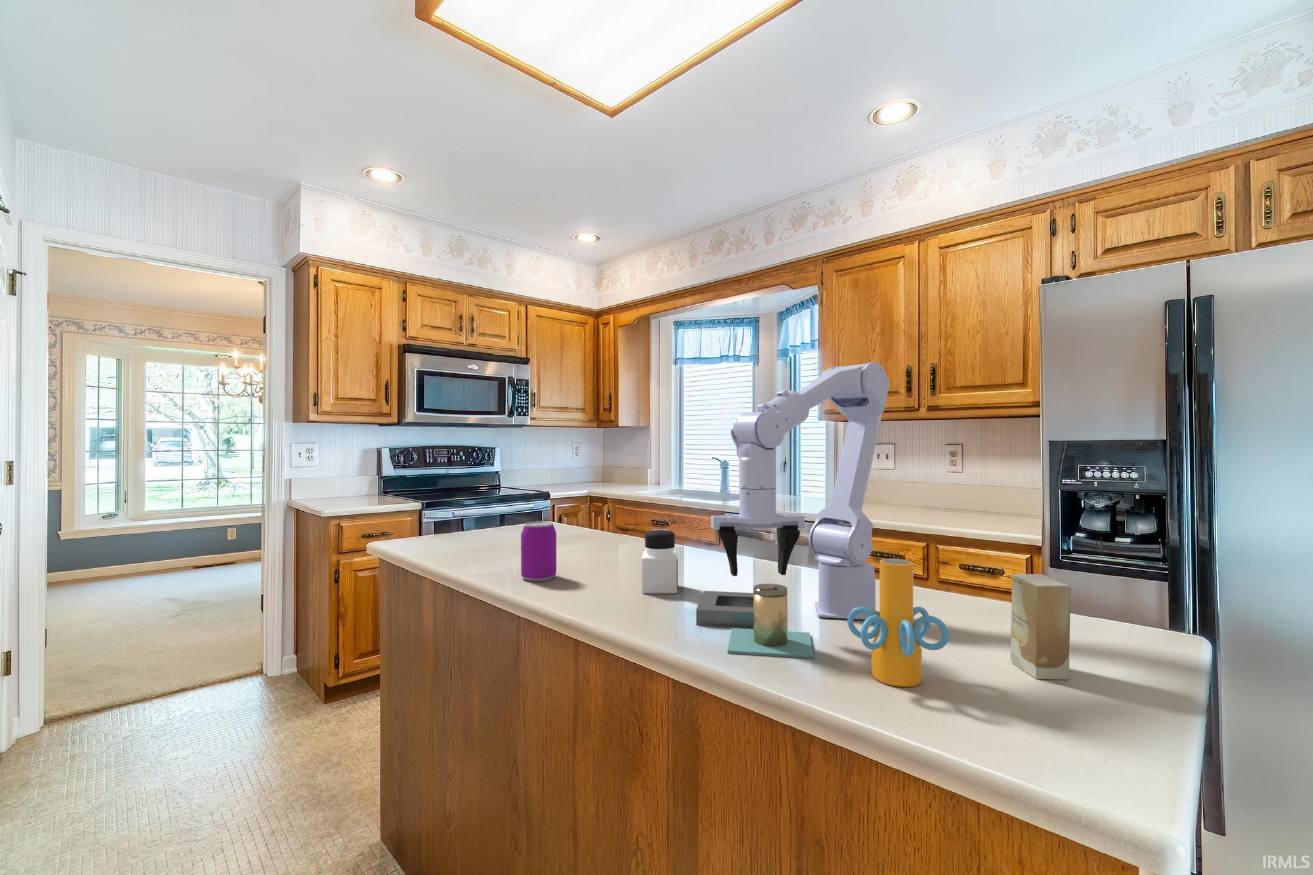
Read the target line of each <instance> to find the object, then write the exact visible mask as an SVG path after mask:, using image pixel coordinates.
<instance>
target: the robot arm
mask: <svg viewBox="0 0 1313 875" xmlns="http://www.w3.org/2000/svg"><path fill="white" fill-rule="evenodd" d="M890 384H891V382H890V381H889V378H888V376H887V373H886V370H885V369H884V366H882V364H880V363H879V362H877V361H870V362H867V363H862V364H853V365H852V364H851V365H847V366H846V365H845V366H831V367H830V368H828V369H825V370H822V372H821V375H819V376H818V377H817V378H815V379H814V380H813V381H811V382H810V383H809V384H807V385H806V386H804V387H803V388H802V389H800V390H799V391H796V390H788V389H782V390H779V391H778V392H776V397H775V398H773V399H771V400H769V401H768V402H763V403H760V404H757V409H756V410H754V412H753V411H752V412H750V411H749V412H743V413H741V414H740V415H739V416H738V417H737V418H736V419H735V421H734V423H733V425H732V426H733V427H732V429H730V436H731V439H732V441H733V443H734V445H735V448H736V455H737V458H738V462H739V463H738V469H739V470H738V472H739V473H738V478H739V480H738V482H739V483H738V485H739V486H738V487H739V491H738V492H739V493H738V494H739V496H738V498H739V500H738V501H739V502H738V503H739V505H738V506H739V511H738V512H739V513H738V514H736V513H735V514H724V515H722V514H720V515H711V516H710V519H711V521H710V528H711V529H712V530H714V531H715V530H717V534H718V536H719V538H720V540H721V543H722V545H723V547H724V551H725V553H726V556H727V561H728V565H729V571H730V574H731V576H732V577H738V539H739V535H738V534H737V530H735V529H776V538H777V549H778V550H777V573H778V574H779V575H780V576H786V575H787V571H788V565H789V562H790V557H791V555H792V553H793V550H794V547H795V546H796V544H797V542H798V540H799V538H800V535H801V530H799V529H805V527H806V526H805V525H806V523H805V522H806V517H805V515H803V514H797V513H795V514H792V513H791V514H790V513H788V514H787V513H777V461H776V460H777V447H780V446H781V444H782V442H783V440H784V438H785V435H786V434H787V433H788V432H790V431H791V430H793V429H794V428H796V427H797V426H799V425H800V424H802V423H803V422H804V421H806V420H807V419H808V417H809V414H810V410H811V409H812V408H813V409H814V407H816V406H818V405H820V404H822V403H823V402H825V401H827V400H830V401H831V403H832V404H833V405H834V406H835V407H836V409H837V411H838V412H839V413H840V414H841V415H843V416H844V417H846V419H847V420H848V424H847V429H846V434H845V438H844V442H843V446H842V451H841V455H840V460H839V465H838V469H837V473H836V478H835V482H834V483H835V484H834V487H833V491H832V496H831V500H830V503H829V504H828V505H826V506H825V507H824V508H822V509H821V510H820V511H818V512H817V513H816V514H817V515H816V517H815V518H816V519H815V521H814V523H813V524H812V526H811V528H810V530H809V533H808V538H807V540H808V547H809V549H810V551H811V552H812V554H814V559H815V561H818V601H815V602H814V606H815V610H816V614H817V617H818V618H829V619H848V615H849V613H850V612H851V611H852V610H853V609H854V608H857V607H867V608H870V609H872V610H873V611H874V612H875V613H876V614H877V610H876V608H877V607H876V602H877V601H876V574H875V567H874V564H872V563H869V562H867V563H866V561H867V560H868V559H869V557H870V556H871V553H872V550H873V536H872V535H873V534H872V533H873V528H874V526H873V522H872V521H871V520H870V518H869V517H868V516H867V515H866V514H865V513H864V512H863V507H864V506H863V505H864V502H865V496H866V493H867V487H868V483H869V477H870V474H871V469H872V464H873V459H874V454H875V450H876V445H877V441H878V440H877V439H878V436H879V430H880V427H881V422H882V414H883V413H884V411H885V406H886V402H887V398H888V392H889V389H890ZM868 617H870V615H869V614H867V613H858V614H857V615H856V616H855V617H854V620H864V621H865V620H866V619H867V618H868Z"/></svg>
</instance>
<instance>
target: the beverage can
mask: <svg viewBox="0 0 1313 875" xmlns="http://www.w3.org/2000/svg"><path fill="white" fill-rule="evenodd" d="M520 573H521V574H520V575H521V577H522V578H523V579H524V580H526V581H528V582H544V581H550V580H551V579H553V578H554V577H555V576H556V575H557V531H556V528H555V526H554V523H553V522H552V521H543V520H541V521H539V520H538V521H537V520H536V521H530V522H525V523H524V524H523V527H522V531H521V534H520Z"/></svg>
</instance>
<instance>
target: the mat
mask: <svg viewBox="0 0 1313 875" xmlns="http://www.w3.org/2000/svg"><path fill="white" fill-rule="evenodd" d="M787 632H788V642H787V644H786V645H784V646H780V647H767V646H762V645H759V644H757V643H755V642H754V628H740V627H731V631H730V637H729V642H728V646H727V654H734V655H735V654H736V655H738V654H739V655H749V656H750V655H751V656H752V655H754V656H764V657H765V656H766V657H779V658H781V657H784V658H797V659H811V660H812V659H814V658H815V655H814V652H813V645H812V639H811V634H810V632H807V631H790V630H789V631H788V630H787Z"/></svg>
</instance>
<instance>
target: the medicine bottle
mask: <svg viewBox="0 0 1313 875" xmlns="http://www.w3.org/2000/svg"><path fill="white" fill-rule="evenodd" d="M675 536H676V534H675V533H674V531H672V530H670V529H665V528H664V529H663V528H662V529H661V528H660V529H659V528H658V529H656V528H655V529H651V530H648V531H646V532H645V534H644V551H643V552H642V555H641V593H642V594H643V595H648V594H649V595H652V594H653V595H654V594H655V595H657V594H658V595H661V594H662V595H675V594H676V595H677V594H678V592H679V590H678V589H679V578H678V577H679V575H678V574H679V571H678V570H679V564H678V562H679V561H678V560H679V559H678V552H677V551H676V550H675V547H676V546H675V541H676V540H675V539H676V537H675Z"/></svg>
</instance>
